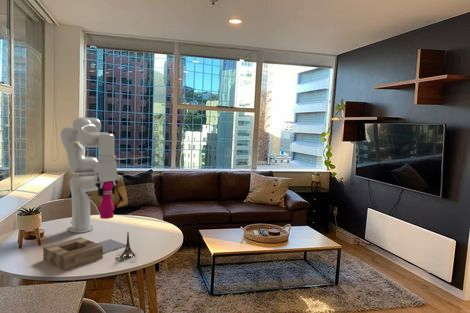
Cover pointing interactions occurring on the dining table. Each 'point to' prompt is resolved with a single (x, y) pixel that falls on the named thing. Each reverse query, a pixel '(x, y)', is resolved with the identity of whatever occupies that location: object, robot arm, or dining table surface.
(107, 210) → the pepper mill
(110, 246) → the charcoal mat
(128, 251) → the eiffel tower figurine
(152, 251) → the dining table surface
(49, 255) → the walnut pocket holder
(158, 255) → the dining table surface
